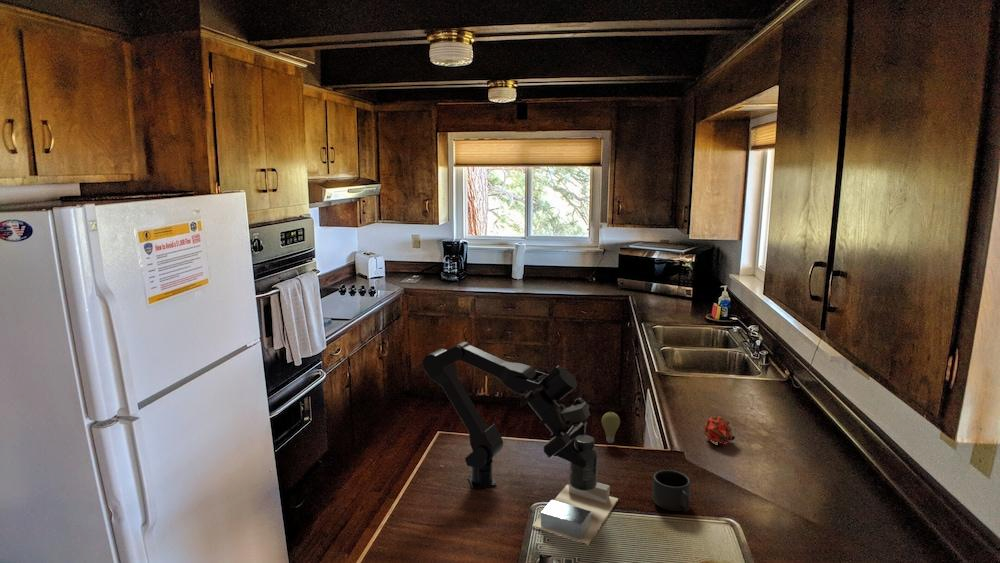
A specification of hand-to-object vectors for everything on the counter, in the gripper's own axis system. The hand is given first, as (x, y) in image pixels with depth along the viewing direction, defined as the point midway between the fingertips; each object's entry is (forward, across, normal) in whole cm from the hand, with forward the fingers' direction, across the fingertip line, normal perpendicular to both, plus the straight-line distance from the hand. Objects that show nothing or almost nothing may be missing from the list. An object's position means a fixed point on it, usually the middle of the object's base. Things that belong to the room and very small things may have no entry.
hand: (589, 460), depth 139 cm
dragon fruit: (+28, +52, -10) cm, 60 cm away
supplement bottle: (+4, 0, +6) cm, 7 cm away
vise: (+8, -3, +10) cm, 13 cm away
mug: (+23, +9, -5) cm, 25 cm away
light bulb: (+6, +38, +12) cm, 40 cm away
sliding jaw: (+7, -10, +10) cm, 16 cm away
